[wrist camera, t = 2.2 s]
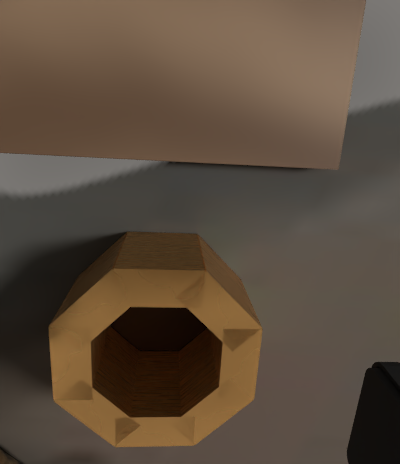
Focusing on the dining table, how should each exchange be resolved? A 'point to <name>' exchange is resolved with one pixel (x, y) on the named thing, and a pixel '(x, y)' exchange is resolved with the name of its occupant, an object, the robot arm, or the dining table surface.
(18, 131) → the keeper board
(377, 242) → the dining table surface
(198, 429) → the octagonal wooden ring
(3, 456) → the wooden log
